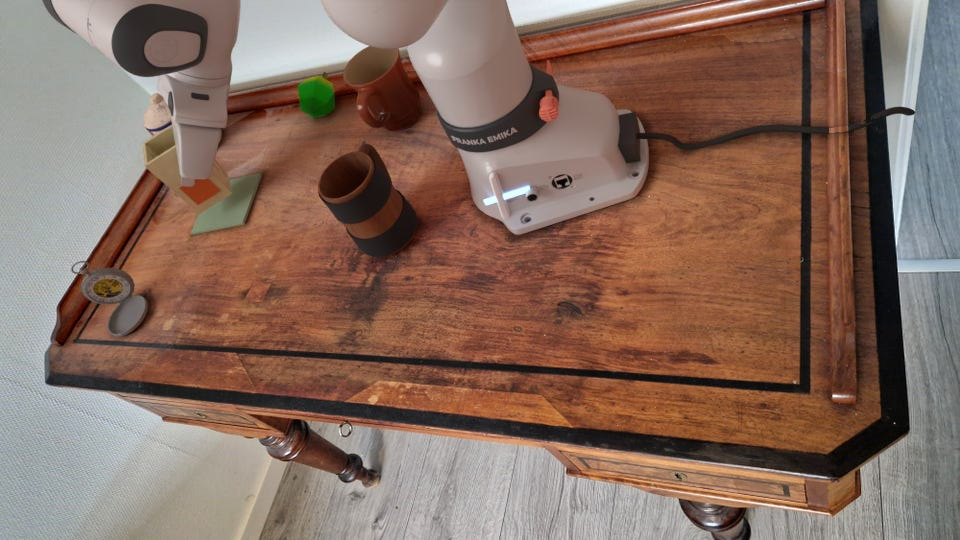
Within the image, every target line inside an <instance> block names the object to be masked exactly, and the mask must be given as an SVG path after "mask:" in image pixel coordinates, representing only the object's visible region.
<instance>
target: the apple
mask: <svg viewBox="0 0 960 540" xmlns="http://www.w3.org/2000/svg"><path fill="white" fill-rule="evenodd" d="M328 77H329V74H328V73H327V72H325V71H323V73H322V75H315V76H312V77H308V78H306V79H304V80H303V81H302V82H300V83H299V84H297V90H298V101H299V108H300V111H301V112H303V113H304V114H306V115H308V116H309V117H312V119H316V118H321V117H327V115H329V114H330V113H331V112H332V111H334V109H336V99H335V98H336V97H335V89H334V84H333V83H334V82H332V81H328V80H329V79H327V78H328Z"/></svg>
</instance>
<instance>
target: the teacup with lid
mask: <svg viewBox="0 0 960 540" xmlns="http://www.w3.org/2000/svg"><path fill="white" fill-rule="evenodd" d="M148 102H149V103H150V104H149V106H148V107H147V109H146V111H145V112H144V114H143V117H142V124H143V127H144V128H145V131H146V132H147V133H148V134H149V135H150V136H151V137H153V136H154V135H156V134H158V133H159V132H161V131H162V130H164V129H165V128H167V127H169V126H170V125H172V121H171V115H170V110H169V107H168V105H167V103H166V102H165V100H164V98H163V96H161V94H160V93H159V92H154V93H153V94H151V95H150V96H149V98H148ZM221 129H222V128H220V138H219V143H220V142H221V140H222V137H223V136H222V135H223V134H222V130H221Z"/></svg>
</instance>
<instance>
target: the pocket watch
mask: <svg viewBox="0 0 960 540" xmlns="http://www.w3.org/2000/svg"><path fill="white" fill-rule="evenodd" d="M78 264H86V267H80V268H79V271H74V268H75V266H77V265H78ZM89 268H90V263H89V262H88V261H87V260H80V261H76V262H75V263H73V264H72V266H71V268H70V271H71V272H72V273H73V274H74V275H85V276H84V278H83V279H82V282H81V285H80V288H81V293H82V295H83V296H84V297H85V298H86V299H87V300H89V301H91V302H93V303H96V304H98V305H99V304H100V305H117V304H118V305H117V306H116V307H115V308H114V309H113V311H112V312H111V314H110V315H109V318H108V321H107V331H108V333H109V334H110V335H112V336H114V337H123V336H126V335H128V334H130V333H132V332H133V331H135V329H137V328H138V327H139V326H140V325H141V323H142V322H143V321H144V319H145V318H146V315H147V313H148V310H149V303H148V299H146V298H145V297H144V296H142V295H139V294H136V295H133V293H134V292H135V282H134V278H132V276H131V275H130V274H129V273H128V272H126V271H125V270H122V269H120V268H116V267H101V268H97V269H94V270H92V271H89Z"/></svg>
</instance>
